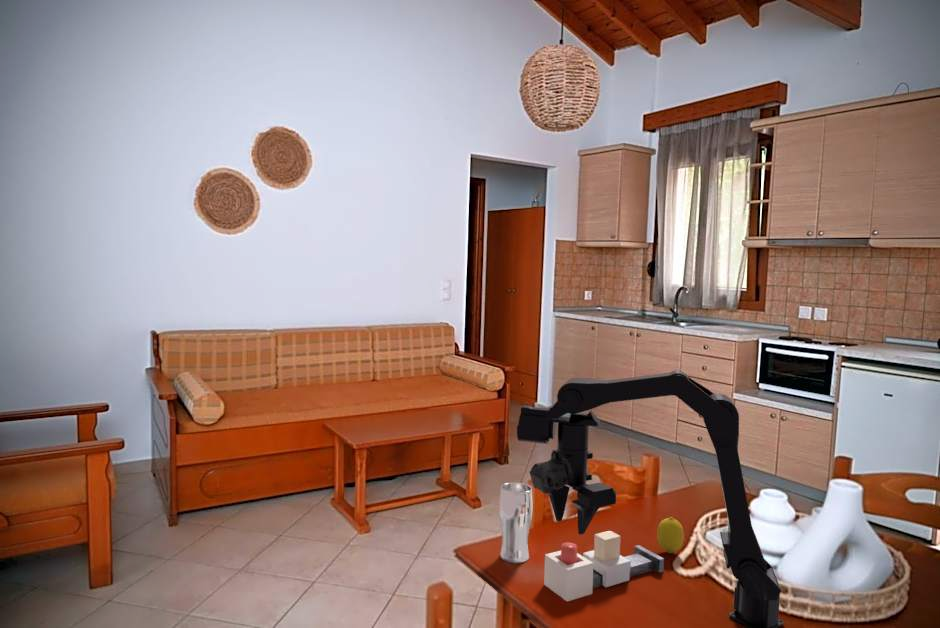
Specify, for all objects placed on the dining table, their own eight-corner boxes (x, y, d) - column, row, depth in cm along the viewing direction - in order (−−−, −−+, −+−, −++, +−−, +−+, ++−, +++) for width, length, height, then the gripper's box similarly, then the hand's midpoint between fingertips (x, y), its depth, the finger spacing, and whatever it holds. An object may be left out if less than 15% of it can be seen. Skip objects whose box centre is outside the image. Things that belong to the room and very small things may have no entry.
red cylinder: (579, 573, 117) (580, 547, 117) (567, 576, 116) (568, 550, 115) (569, 566, 120) (570, 541, 120) (557, 569, 118) (558, 544, 118)
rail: (663, 571, 126) (663, 558, 126) (598, 592, 117) (598, 577, 117) (638, 557, 132) (638, 545, 132) (574, 575, 123) (575, 562, 123)
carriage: (629, 580, 121) (631, 539, 121) (606, 587, 118) (608, 545, 118) (605, 565, 127) (606, 525, 127) (582, 572, 124) (584, 531, 124)
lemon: (684, 560, 131) (686, 523, 131) (657, 557, 132) (659, 520, 132) (681, 549, 136) (682, 513, 136) (655, 546, 138) (656, 511, 137)
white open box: (592, 593, 116) (593, 562, 116) (567, 601, 114) (568, 569, 113) (568, 577, 123) (569, 548, 122) (544, 584, 120) (545, 554, 119)
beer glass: (492, 559, 130) (494, 489, 129) (506, 546, 136) (508, 479, 135) (523, 567, 126) (525, 495, 125) (536, 554, 133) (538, 485, 132)
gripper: (509, 439, 120) (507, 517, 121) (570, 466, 104) (567, 556, 105) (555, 432, 126) (552, 507, 127) (619, 457, 110) (616, 543, 111)
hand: (569, 527), depth 117 cm, fingers open, 6 cm apart
